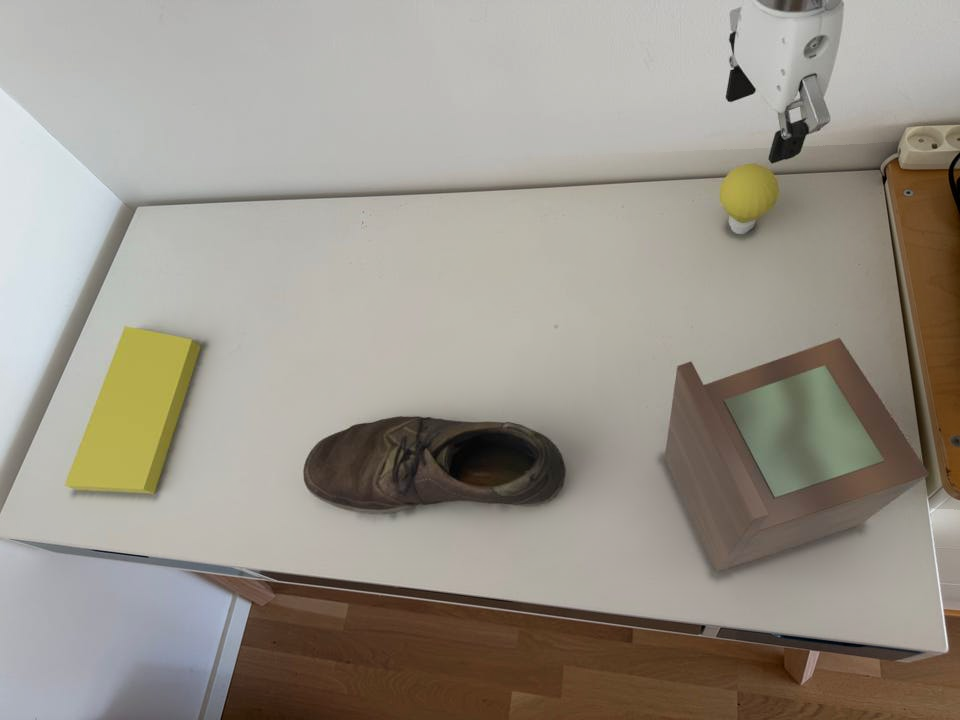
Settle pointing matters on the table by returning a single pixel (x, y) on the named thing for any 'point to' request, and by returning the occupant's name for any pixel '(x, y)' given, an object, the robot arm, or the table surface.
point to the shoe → (433, 465)
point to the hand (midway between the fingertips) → (761, 125)
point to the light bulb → (748, 195)
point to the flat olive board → (135, 414)
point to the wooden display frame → (784, 453)
